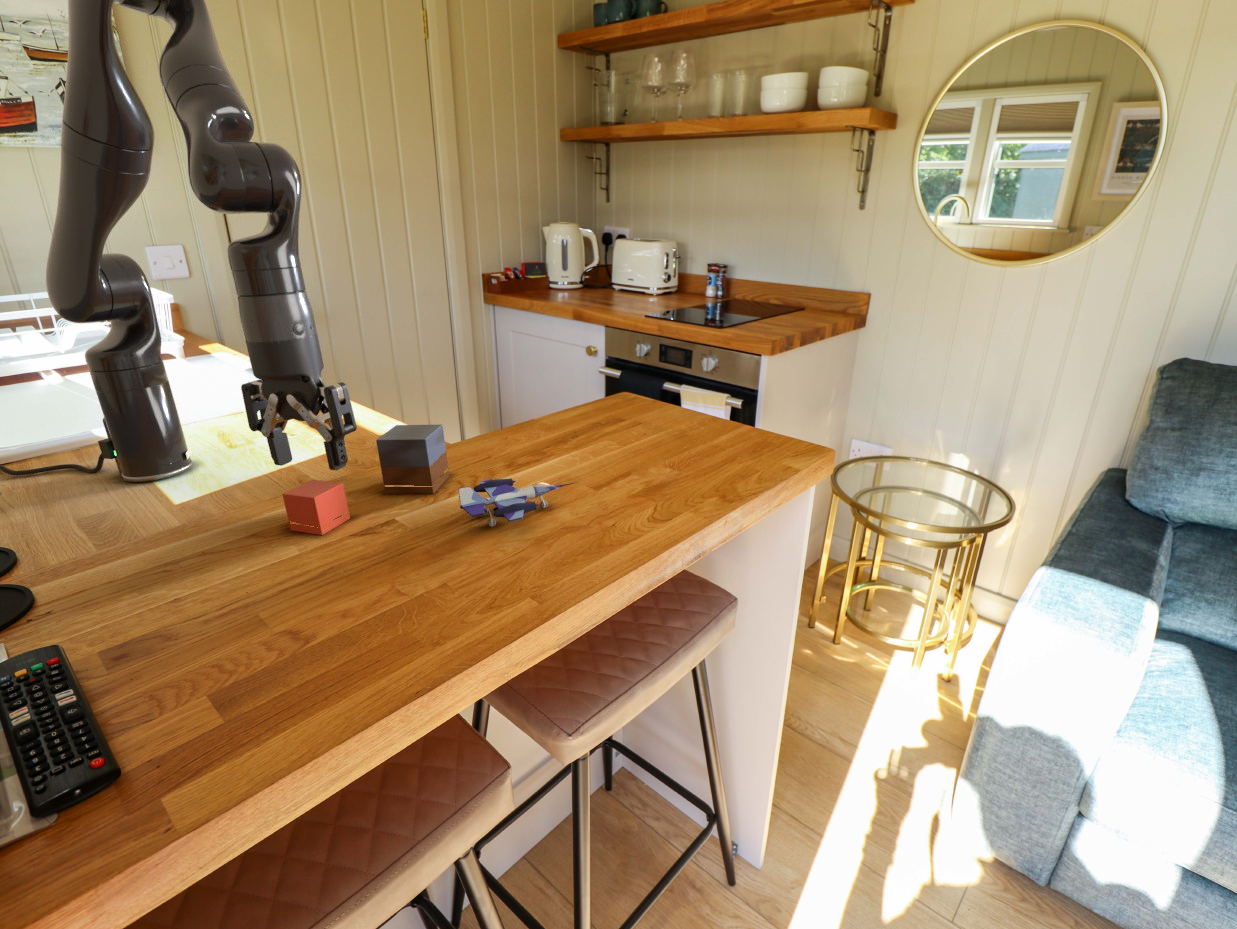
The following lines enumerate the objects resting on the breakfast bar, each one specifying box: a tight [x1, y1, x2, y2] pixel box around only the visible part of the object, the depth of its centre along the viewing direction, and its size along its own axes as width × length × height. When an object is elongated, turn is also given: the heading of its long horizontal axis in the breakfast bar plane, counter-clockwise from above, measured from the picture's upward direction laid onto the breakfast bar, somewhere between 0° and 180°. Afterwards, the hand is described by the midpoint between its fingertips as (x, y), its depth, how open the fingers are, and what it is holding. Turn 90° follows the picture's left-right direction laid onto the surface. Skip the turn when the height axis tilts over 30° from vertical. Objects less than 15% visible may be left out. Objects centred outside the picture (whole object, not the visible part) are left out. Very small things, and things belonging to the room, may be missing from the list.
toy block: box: [282, 479, 351, 536], centre depth 83 cm, size 5×5×5 cm
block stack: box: [375, 424, 450, 495], centre depth 94 cm, size 7×7×8 cm
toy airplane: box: [458, 477, 579, 528], centre depth 84 cm, size 13×14×4 cm
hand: (310, 465), depth 81 cm, fingers open, 8 cm apart
